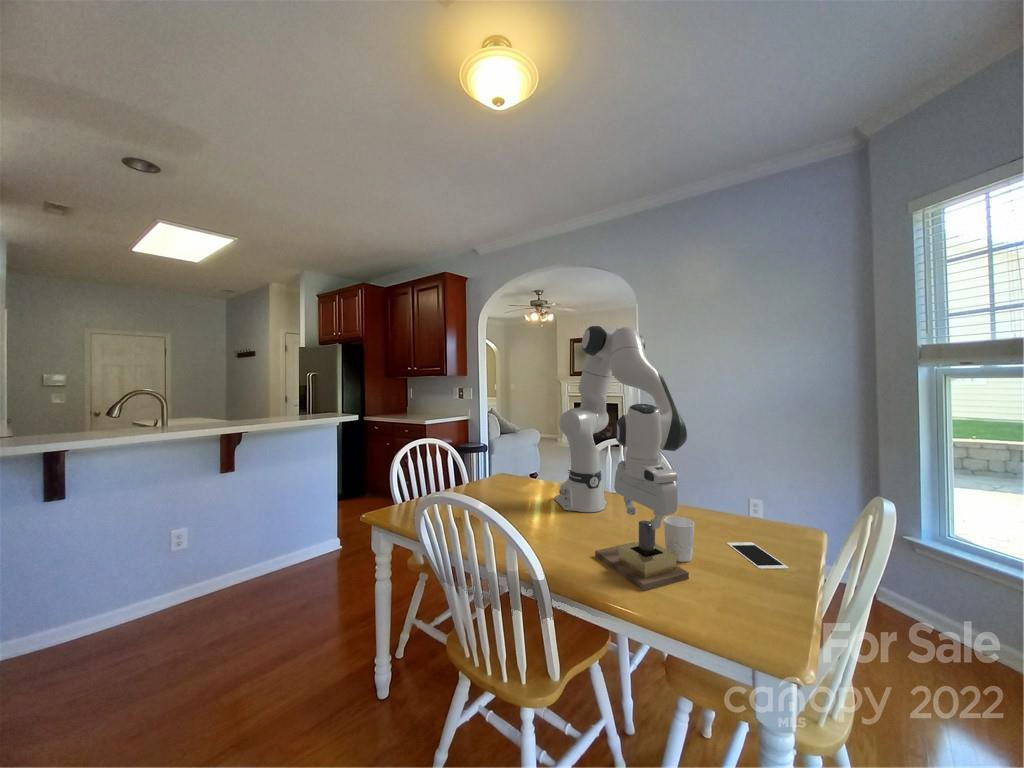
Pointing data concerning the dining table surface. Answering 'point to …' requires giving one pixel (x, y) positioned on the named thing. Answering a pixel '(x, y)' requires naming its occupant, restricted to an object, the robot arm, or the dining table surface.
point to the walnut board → (612, 559)
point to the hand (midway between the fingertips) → (642, 520)
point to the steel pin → (646, 539)
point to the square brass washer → (647, 560)
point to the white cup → (679, 537)
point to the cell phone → (757, 556)
